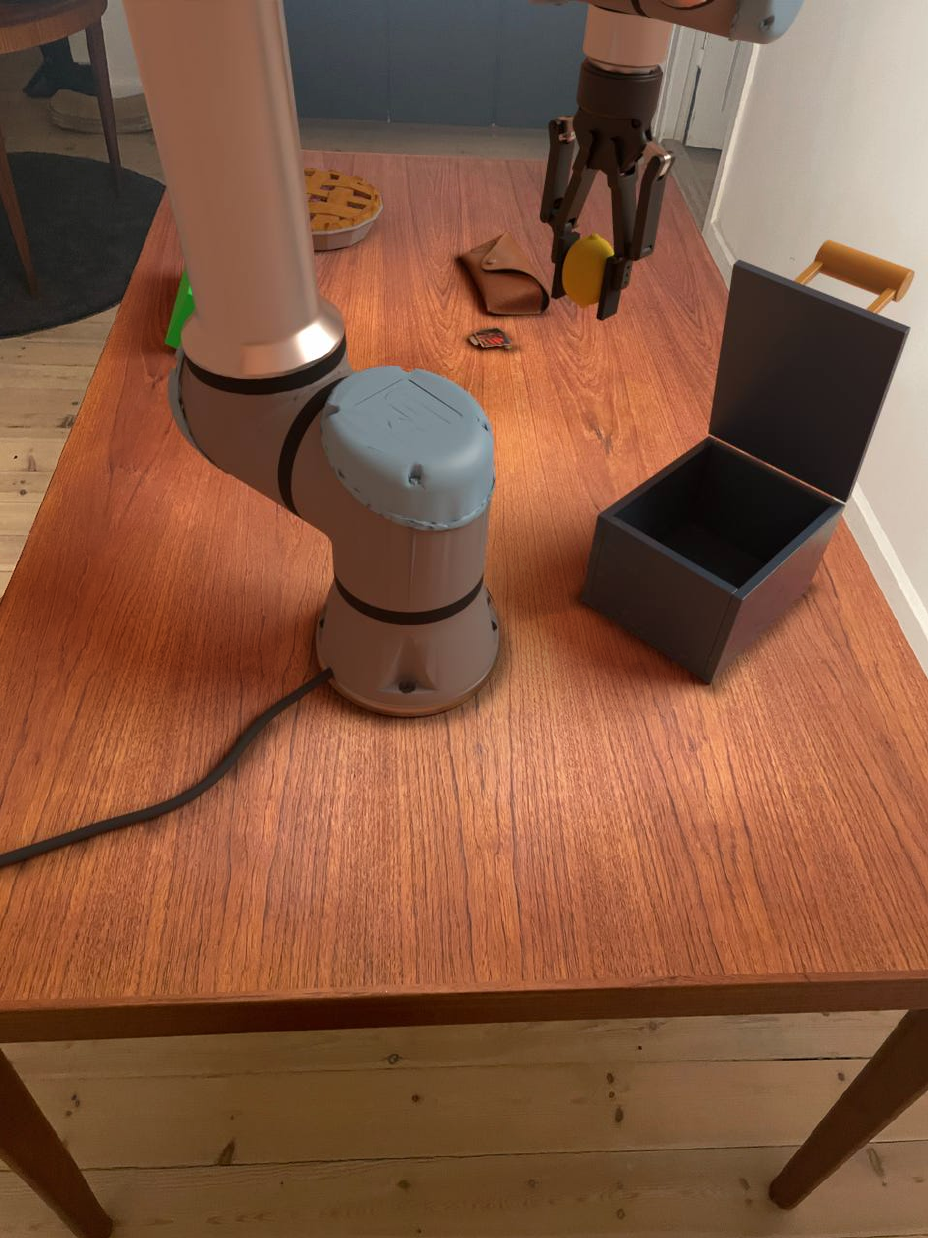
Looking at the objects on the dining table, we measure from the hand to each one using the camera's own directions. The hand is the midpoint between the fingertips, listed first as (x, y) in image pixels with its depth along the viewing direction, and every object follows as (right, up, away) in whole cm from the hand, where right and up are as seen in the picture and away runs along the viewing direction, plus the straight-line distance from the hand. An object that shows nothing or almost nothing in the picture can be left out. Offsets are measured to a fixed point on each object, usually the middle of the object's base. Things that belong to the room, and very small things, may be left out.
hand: (583, 304), depth 98 cm
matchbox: (-10, +1, +15) cm, 18 cm away
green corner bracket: (-48, -2, +8) cm, 49 cm away
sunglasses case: (-8, +12, +26) cm, 29 cm away
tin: (+8, -32, -15) cm, 36 cm away
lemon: (0, 0, 0) cm, 1 cm away
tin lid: (+13, -16, -26) cm, 33 cm away
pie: (-36, +26, +34) cm, 56 cm away
